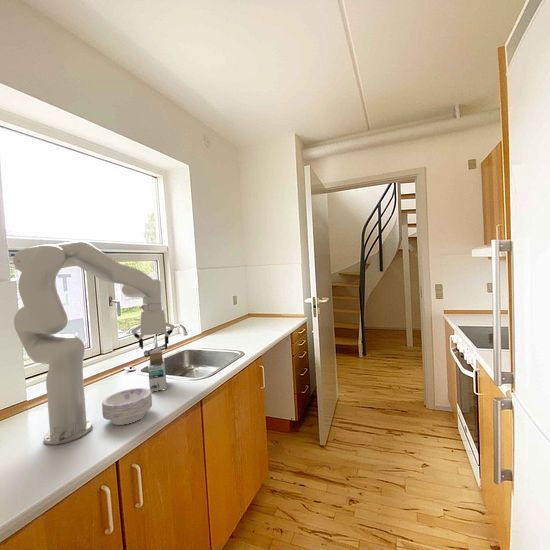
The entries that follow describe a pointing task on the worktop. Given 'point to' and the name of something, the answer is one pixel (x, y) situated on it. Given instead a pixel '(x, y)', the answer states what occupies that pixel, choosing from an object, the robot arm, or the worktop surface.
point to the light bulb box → (157, 376)
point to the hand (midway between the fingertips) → (154, 346)
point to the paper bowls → (127, 405)
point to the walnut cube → (156, 357)
